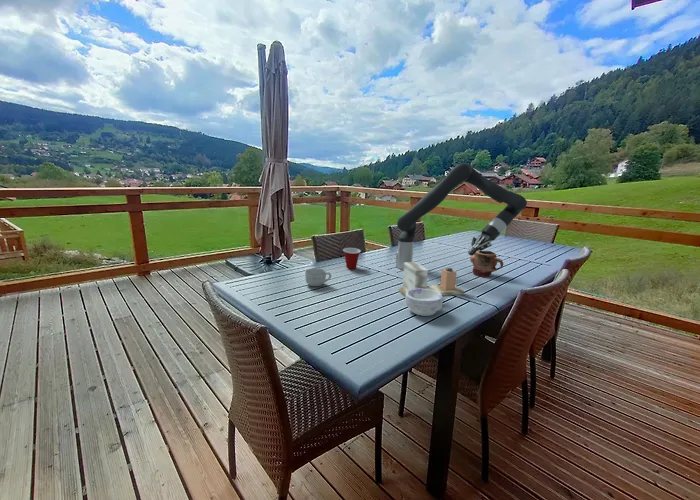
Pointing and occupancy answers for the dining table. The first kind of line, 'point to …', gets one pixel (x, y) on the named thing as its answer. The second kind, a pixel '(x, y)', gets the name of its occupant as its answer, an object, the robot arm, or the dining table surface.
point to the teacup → (316, 276)
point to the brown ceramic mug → (485, 263)
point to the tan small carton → (448, 279)
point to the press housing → (421, 280)
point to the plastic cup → (351, 257)
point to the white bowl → (423, 301)
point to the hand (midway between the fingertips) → (469, 254)
